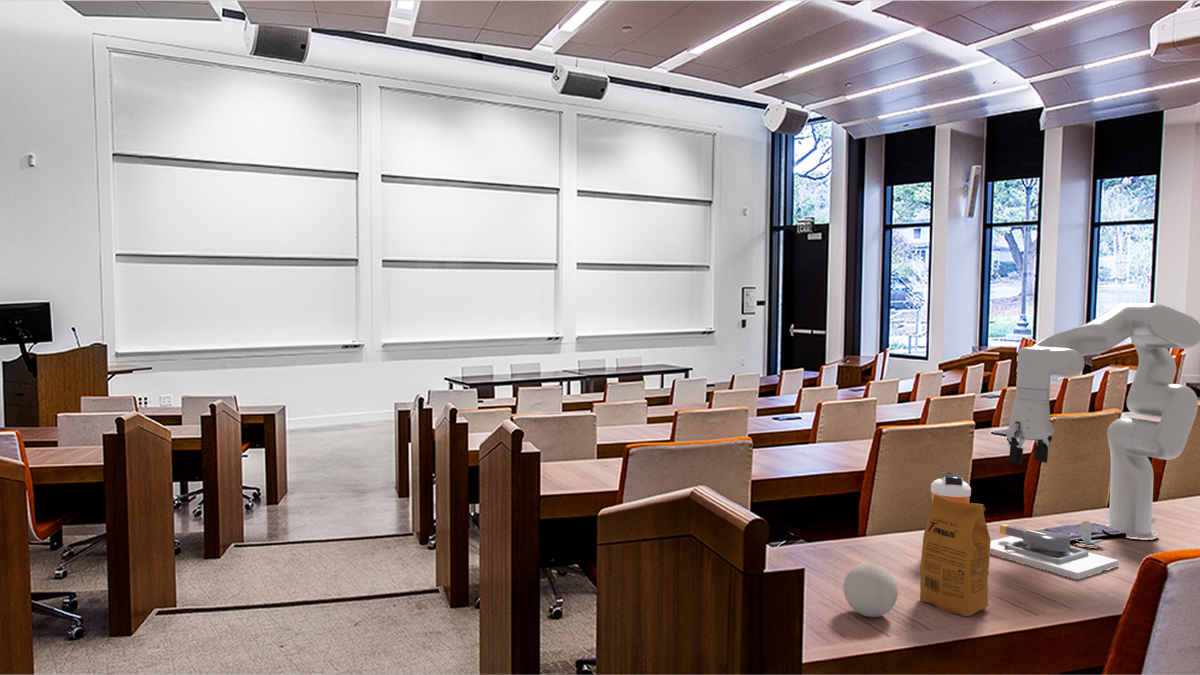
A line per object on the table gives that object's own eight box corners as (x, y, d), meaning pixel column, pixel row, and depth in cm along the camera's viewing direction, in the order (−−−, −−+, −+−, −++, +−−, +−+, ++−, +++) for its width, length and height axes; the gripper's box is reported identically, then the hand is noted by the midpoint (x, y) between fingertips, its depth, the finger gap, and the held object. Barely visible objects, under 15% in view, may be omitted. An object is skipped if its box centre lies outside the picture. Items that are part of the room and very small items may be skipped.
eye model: (835, 605, 155) (835, 557, 155) (883, 604, 156) (884, 556, 155) (854, 626, 145) (855, 574, 145) (906, 625, 146) (907, 573, 145)
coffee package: (941, 591, 164) (943, 489, 163) (996, 611, 153) (999, 502, 152) (910, 599, 159) (913, 494, 158) (965, 620, 148) (968, 508, 147)
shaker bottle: (961, 550, 191) (963, 471, 191) (975, 562, 182) (977, 479, 182) (924, 549, 192) (926, 470, 191) (936, 561, 183) (938, 478, 183)
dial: (1078, 554, 184) (1079, 537, 184) (1055, 561, 179) (1056, 543, 179) (1013, 537, 198) (1013, 521, 198) (990, 542, 193) (990, 526, 193)
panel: (1018, 540, 201) (1018, 530, 201) (1118, 566, 180) (1118, 555, 180) (977, 550, 192) (977, 540, 191) (1077, 580, 171) (1078, 568, 171)
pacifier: (1095, 552, 192) (1105, 547, 196) (1096, 527, 192) (1105, 523, 195) (1064, 545, 198) (1073, 540, 202) (1064, 521, 198) (1074, 516, 201)
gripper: (1040, 394, 202) (1036, 458, 202) (996, 393, 195) (992, 460, 195) (1068, 397, 195) (1064, 463, 196) (1023, 397, 188) (1019, 466, 188)
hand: (1028, 462), depth 195 cm, fingers open, 9 cm apart
